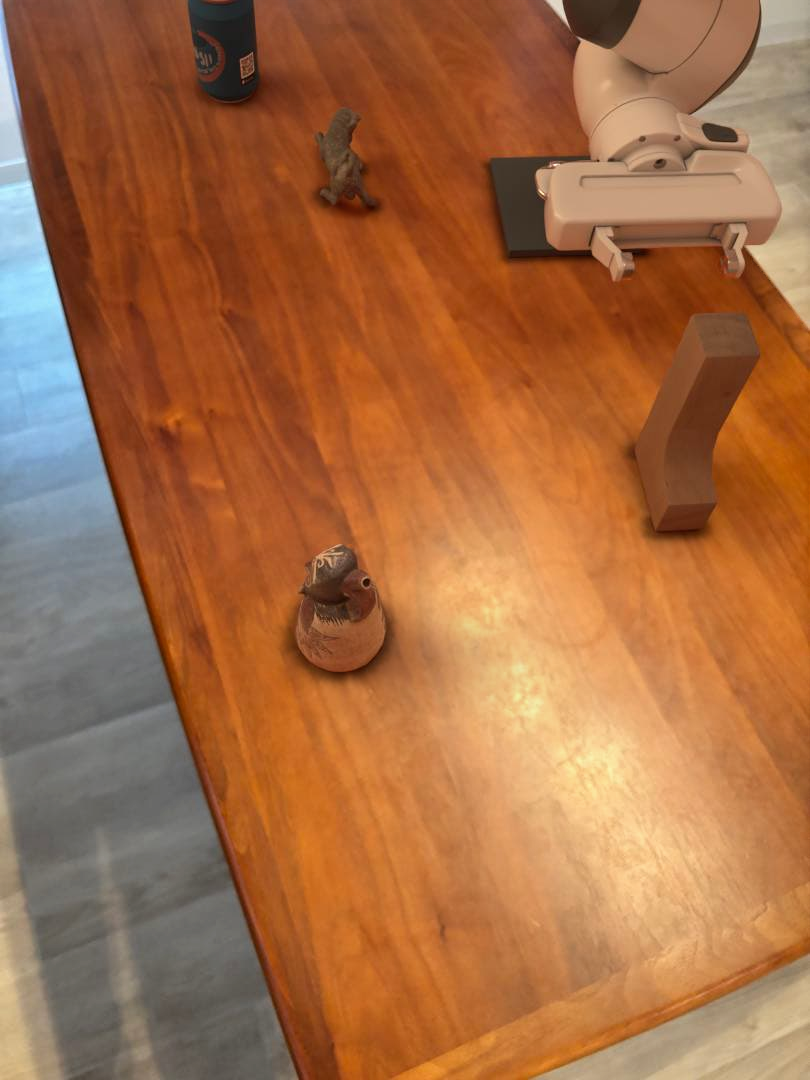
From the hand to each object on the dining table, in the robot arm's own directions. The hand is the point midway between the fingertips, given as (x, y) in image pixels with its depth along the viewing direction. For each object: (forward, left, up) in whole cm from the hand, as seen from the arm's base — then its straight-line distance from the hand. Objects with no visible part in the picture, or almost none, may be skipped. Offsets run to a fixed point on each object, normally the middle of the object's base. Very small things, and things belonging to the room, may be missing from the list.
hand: (679, 274), depth 84 cm
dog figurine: (+26, -29, -14) cm, 41 cm away
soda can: (+38, -45, -14) cm, 60 cm away
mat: (+3, -24, -14) cm, 28 cm away
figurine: (+30, +24, -14) cm, 41 cm away
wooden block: (0, +12, -14) cm, 19 cm away
